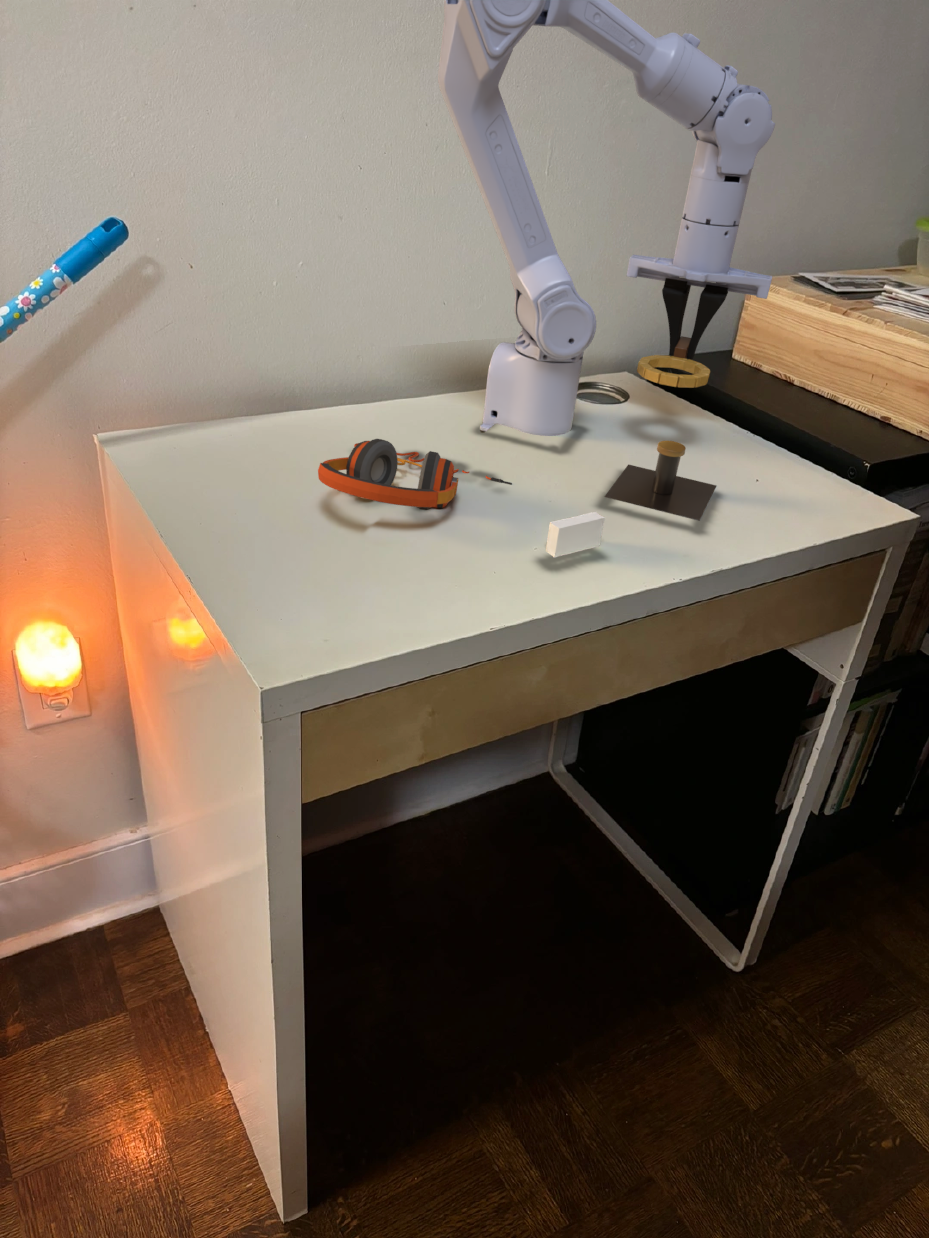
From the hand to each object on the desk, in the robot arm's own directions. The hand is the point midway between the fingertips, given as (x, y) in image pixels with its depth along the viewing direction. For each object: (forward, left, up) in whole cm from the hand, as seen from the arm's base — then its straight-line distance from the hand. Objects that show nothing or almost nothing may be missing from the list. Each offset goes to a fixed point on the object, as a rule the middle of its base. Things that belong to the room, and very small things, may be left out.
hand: (681, 355), depth 100 cm
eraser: (0, -34, -9) cm, 36 cm away
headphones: (-17, -32, -9) cm, 37 cm away
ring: (0, -4, 0) cm, 4 cm away
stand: (+4, -18, -9) cm, 21 cm away
